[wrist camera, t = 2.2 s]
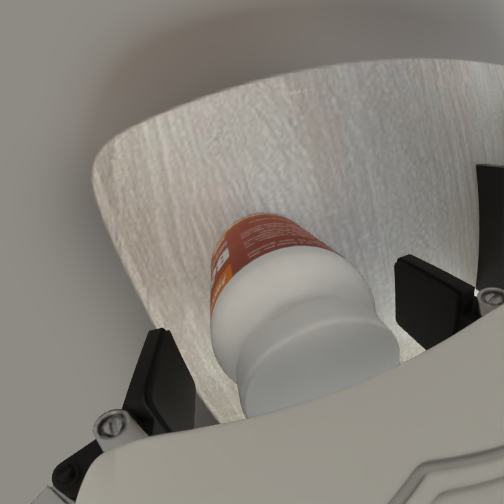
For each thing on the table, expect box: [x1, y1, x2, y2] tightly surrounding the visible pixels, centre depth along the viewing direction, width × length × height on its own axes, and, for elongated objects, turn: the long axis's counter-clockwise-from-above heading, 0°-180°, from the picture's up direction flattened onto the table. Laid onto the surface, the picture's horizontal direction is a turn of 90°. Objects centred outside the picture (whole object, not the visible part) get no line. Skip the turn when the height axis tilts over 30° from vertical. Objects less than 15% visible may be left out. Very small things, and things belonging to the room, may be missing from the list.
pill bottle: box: [210, 214, 400, 418], centre depth 12 cm, size 6×6×11 cm
